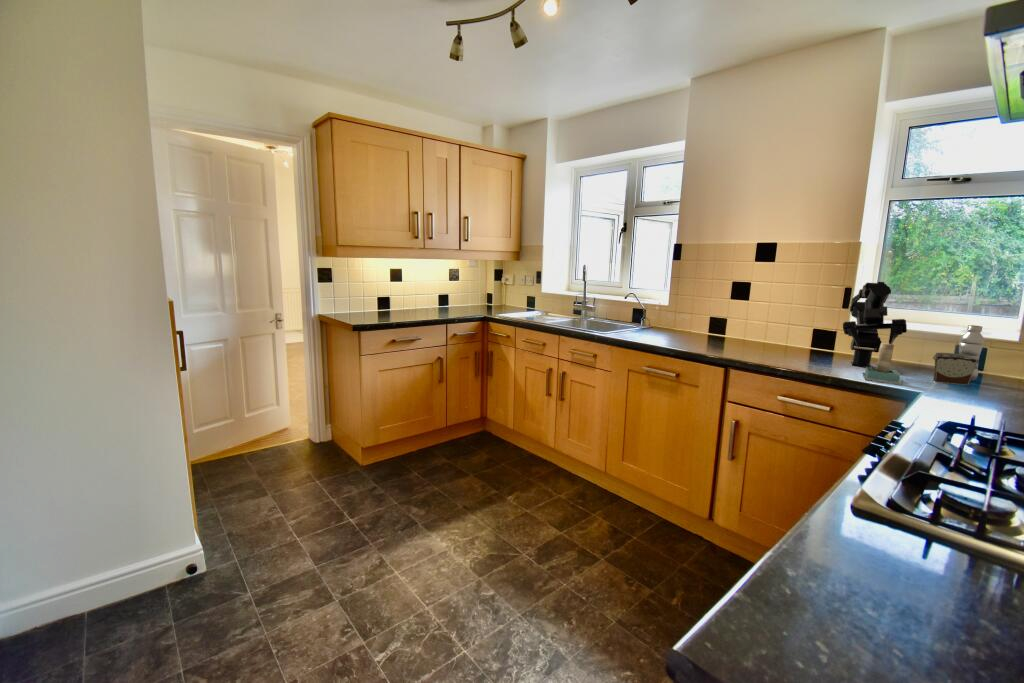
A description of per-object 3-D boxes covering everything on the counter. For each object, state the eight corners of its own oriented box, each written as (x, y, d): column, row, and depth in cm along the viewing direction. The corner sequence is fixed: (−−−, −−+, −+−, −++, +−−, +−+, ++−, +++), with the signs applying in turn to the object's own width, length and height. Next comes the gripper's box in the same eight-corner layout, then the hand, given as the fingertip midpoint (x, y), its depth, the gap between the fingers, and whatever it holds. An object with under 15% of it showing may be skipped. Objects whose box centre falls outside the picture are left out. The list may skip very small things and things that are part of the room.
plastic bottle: (981, 383, 164) (993, 327, 161) (959, 381, 166) (971, 326, 162) (967, 378, 171) (979, 325, 167) (946, 377, 172) (957, 324, 168)
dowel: (872, 376, 165) (878, 343, 163) (881, 376, 166) (887, 343, 163) (880, 378, 162) (887, 345, 160) (890, 378, 162) (896, 345, 160)
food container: (963, 381, 166) (969, 354, 164) (973, 385, 160) (980, 357, 158) (921, 377, 170) (926, 351, 168) (930, 381, 164) (935, 354, 162)
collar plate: (862, 374, 171) (863, 366, 170) (896, 379, 165) (898, 370, 165) (864, 379, 162) (866, 370, 162) (901, 385, 157) (903, 375, 156)
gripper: (841, 301, 178) (839, 336, 172) (904, 297, 166) (905, 334, 160) (845, 316, 185) (843, 351, 179) (906, 313, 173) (907, 350, 167)
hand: (873, 346), depth 171 cm, fingers open, 9 cm apart
